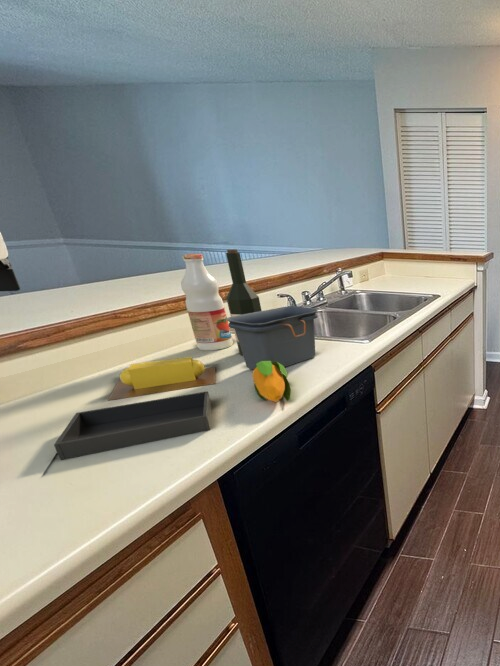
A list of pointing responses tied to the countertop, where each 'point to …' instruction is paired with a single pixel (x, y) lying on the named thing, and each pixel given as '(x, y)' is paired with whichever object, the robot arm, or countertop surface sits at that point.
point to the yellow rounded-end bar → (162, 372)
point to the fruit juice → (205, 305)
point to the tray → (134, 424)
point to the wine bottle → (240, 290)
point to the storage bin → (276, 335)
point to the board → (162, 386)
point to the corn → (271, 381)
